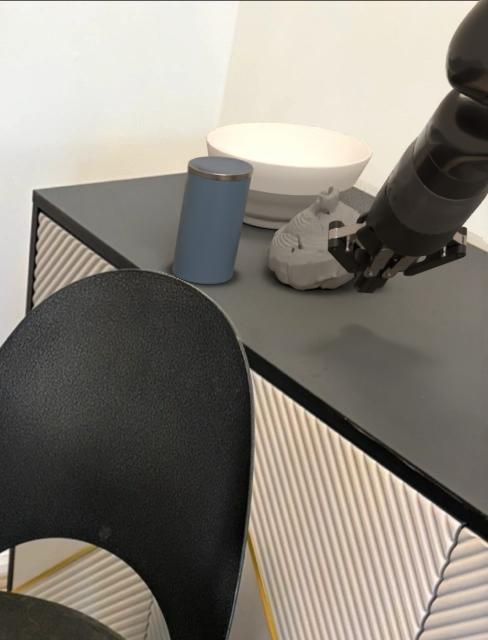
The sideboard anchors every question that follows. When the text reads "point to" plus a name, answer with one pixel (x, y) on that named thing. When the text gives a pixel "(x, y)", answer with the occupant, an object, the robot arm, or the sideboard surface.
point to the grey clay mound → (311, 245)
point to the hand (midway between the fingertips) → (364, 283)
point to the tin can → (211, 219)
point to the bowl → (289, 166)
